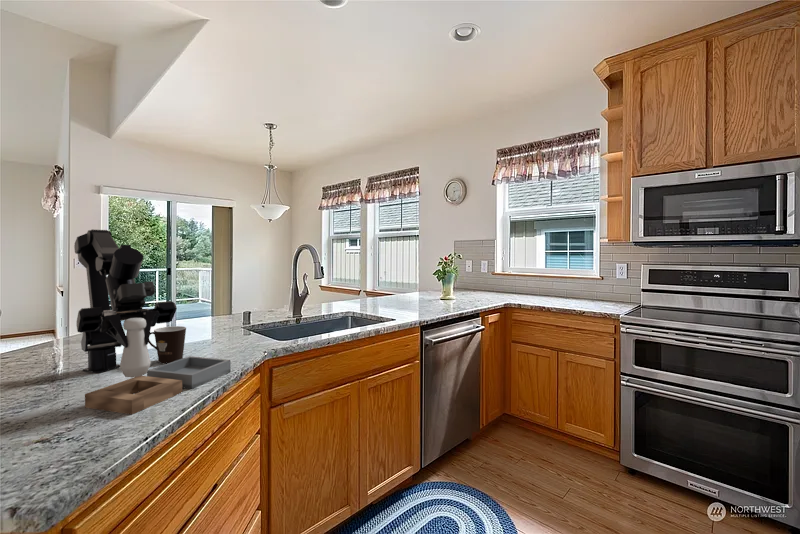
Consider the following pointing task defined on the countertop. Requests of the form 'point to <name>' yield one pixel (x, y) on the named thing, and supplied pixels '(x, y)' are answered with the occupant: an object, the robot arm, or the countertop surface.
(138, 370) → the salt shaker
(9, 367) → the countertop surface
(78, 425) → the countertop surface
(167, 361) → the coffee mug
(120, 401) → the socket block
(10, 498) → the countertop surface
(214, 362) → the tray
